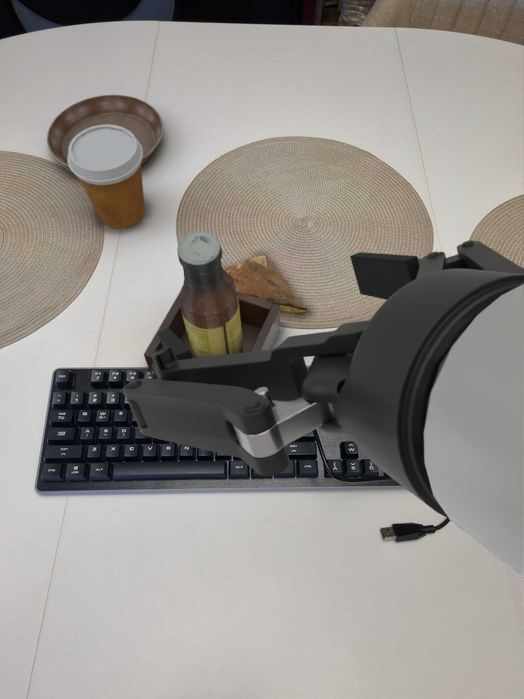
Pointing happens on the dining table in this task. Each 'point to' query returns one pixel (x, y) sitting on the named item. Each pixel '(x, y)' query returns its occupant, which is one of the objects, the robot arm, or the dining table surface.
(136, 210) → the disposable coffee cup
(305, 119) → the dining table surface
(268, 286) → the quesadilla slice
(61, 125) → the plant saucer
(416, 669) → the dining table surface
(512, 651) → the dining table surface
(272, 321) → the box
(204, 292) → the sauce bottle
